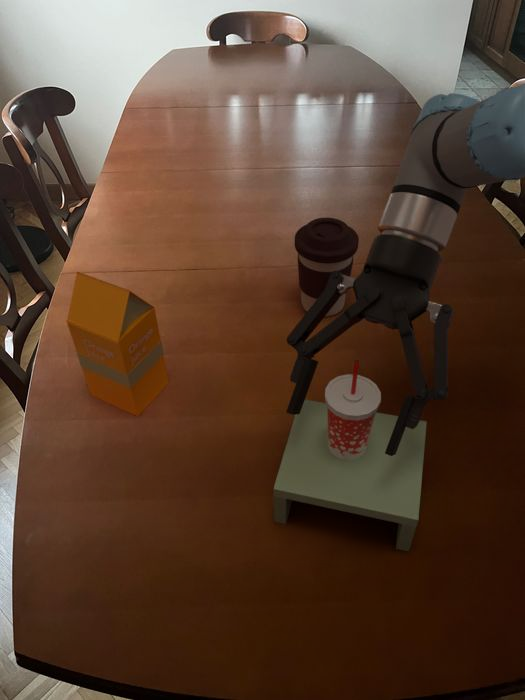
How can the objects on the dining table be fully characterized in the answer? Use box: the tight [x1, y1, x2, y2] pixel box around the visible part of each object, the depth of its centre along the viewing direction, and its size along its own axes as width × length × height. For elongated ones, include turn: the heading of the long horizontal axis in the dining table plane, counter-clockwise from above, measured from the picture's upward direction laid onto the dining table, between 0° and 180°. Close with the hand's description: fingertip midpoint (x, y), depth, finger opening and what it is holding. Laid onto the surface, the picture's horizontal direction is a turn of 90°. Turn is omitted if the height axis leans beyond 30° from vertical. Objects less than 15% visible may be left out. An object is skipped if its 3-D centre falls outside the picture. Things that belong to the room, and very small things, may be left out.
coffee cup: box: [294, 217, 360, 318], centre depth 96 cm, size 10×10×15 cm
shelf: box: [272, 399, 427, 552], centre depth 72 cm, size 14×16×7 cm
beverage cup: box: [324, 359, 382, 461], centre depth 66 cm, size 6×6×14 cm
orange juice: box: [65, 271, 170, 418], centre depth 81 cm, size 8×9×20 cm
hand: (339, 433), depth 65 cm, fingers open, 11 cm apart
